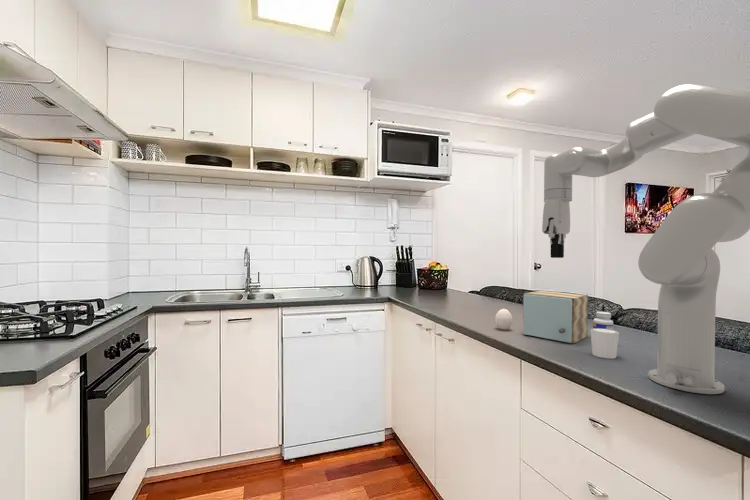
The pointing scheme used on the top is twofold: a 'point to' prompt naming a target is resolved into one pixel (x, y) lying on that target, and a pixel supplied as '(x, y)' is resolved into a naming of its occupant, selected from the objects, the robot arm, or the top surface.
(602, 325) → the pill bottle
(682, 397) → the top surface
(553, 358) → the top surface
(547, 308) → the door
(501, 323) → the egg
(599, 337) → the white cup
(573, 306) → the cabinet
